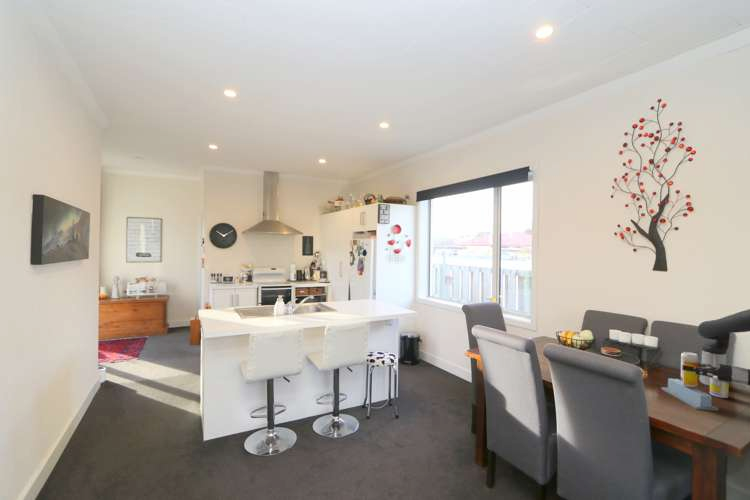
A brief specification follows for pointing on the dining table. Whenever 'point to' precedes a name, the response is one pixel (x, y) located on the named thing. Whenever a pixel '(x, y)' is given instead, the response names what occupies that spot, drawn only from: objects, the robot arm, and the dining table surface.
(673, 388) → the rail
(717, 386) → the supplement bottle
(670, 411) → the dining table surface
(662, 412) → the dining table surface
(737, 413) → the dining table surface
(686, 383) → the beer can
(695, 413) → the dining table surface
